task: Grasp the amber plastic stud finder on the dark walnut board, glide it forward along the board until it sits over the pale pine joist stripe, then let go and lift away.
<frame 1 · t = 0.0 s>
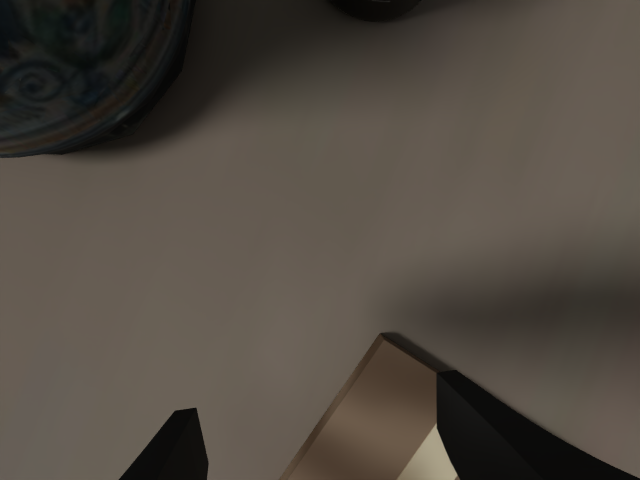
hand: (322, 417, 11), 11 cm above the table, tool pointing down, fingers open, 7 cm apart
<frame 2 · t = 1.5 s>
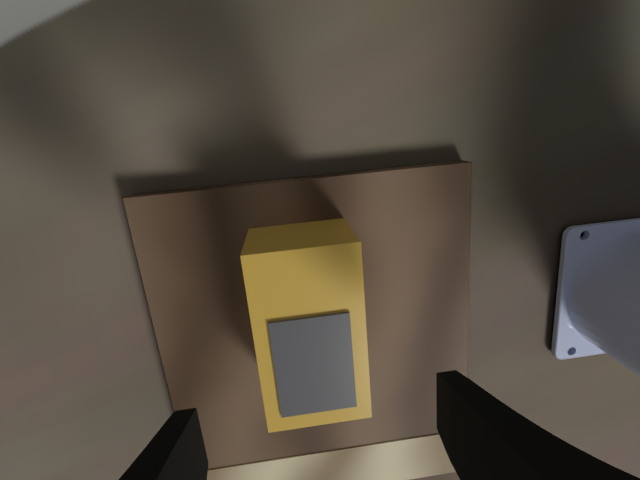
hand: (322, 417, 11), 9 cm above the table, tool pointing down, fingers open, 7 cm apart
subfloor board: (323, 387, 22), on the table
stud finder: (305, 300, 19), point 1 cm above the table, touching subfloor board
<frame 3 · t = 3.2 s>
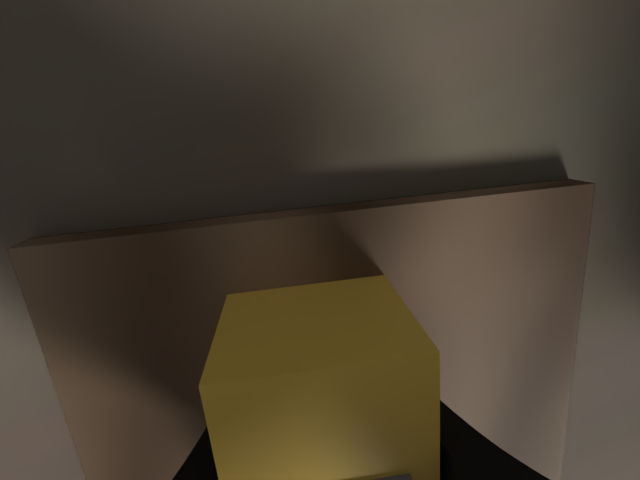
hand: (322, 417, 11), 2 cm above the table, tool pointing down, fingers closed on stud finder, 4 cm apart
stud finder: (319, 401, 12), point 1 cm above the table, touching gripper, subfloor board
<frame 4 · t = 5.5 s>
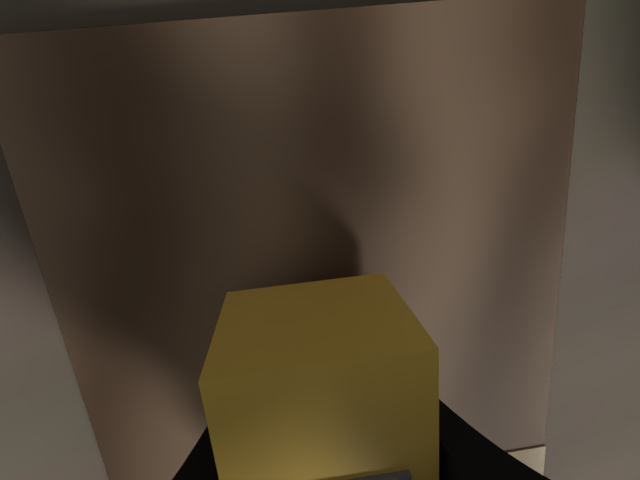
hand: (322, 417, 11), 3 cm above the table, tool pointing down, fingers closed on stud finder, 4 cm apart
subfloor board: (329, 382, 14), on the table
stud finder: (319, 399, 12), point 2 cm above the table, touching gripper
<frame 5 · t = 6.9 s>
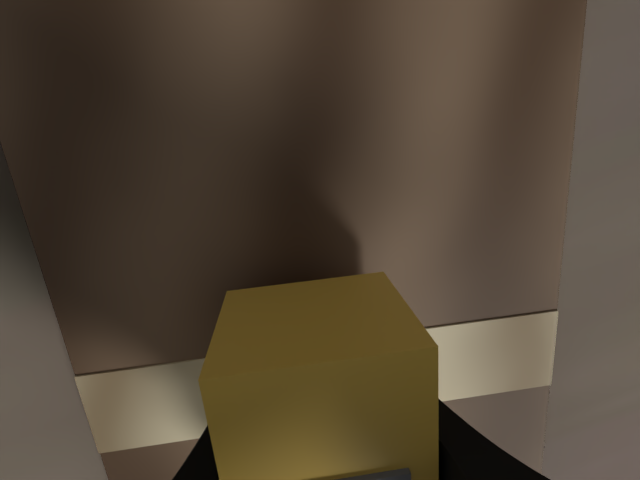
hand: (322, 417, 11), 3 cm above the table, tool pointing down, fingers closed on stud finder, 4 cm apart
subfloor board: (314, 231, 13), on the table
stud finder: (319, 398, 12), point 2 cm above the table, touching gripper
when the fingers open (3 cm above the table, at t = 8.2 s): stud finder stays where it is, resting on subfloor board.
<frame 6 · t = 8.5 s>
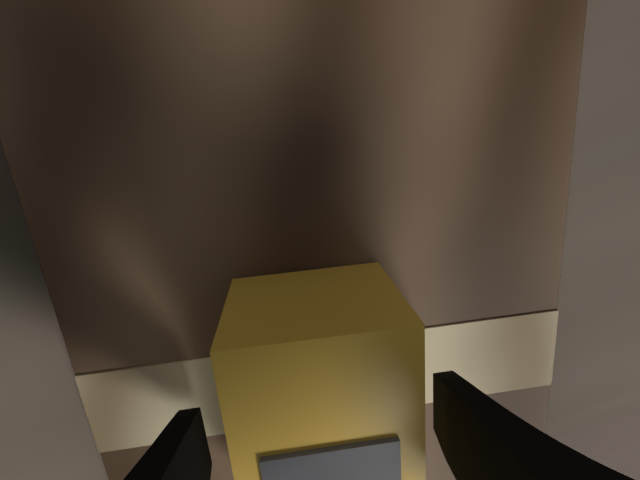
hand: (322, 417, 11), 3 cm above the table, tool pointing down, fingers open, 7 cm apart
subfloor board: (314, 231, 13), on the table
stud finder: (317, 380, 13), point 1 cm above the table, touching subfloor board
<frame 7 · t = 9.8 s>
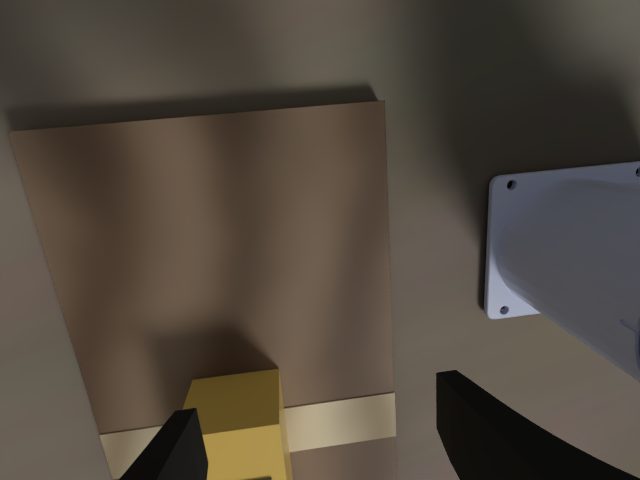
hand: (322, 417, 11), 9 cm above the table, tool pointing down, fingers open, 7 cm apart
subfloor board: (244, 346, 21), on the table
stud finder: (246, 435, 21), point 1 cm above the table, touching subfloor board
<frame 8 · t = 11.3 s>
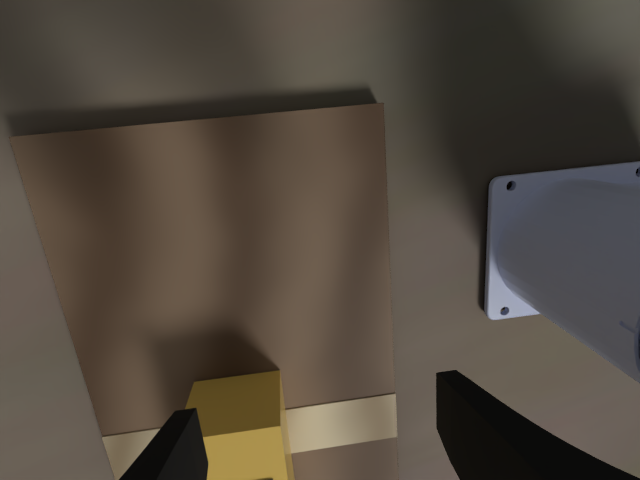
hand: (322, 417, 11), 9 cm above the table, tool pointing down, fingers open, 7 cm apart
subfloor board: (245, 348, 21), on the table
stud finder: (247, 437, 21), point 1 cm above the table, touching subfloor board
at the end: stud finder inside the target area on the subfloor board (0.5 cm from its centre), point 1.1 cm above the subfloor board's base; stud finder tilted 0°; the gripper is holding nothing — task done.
